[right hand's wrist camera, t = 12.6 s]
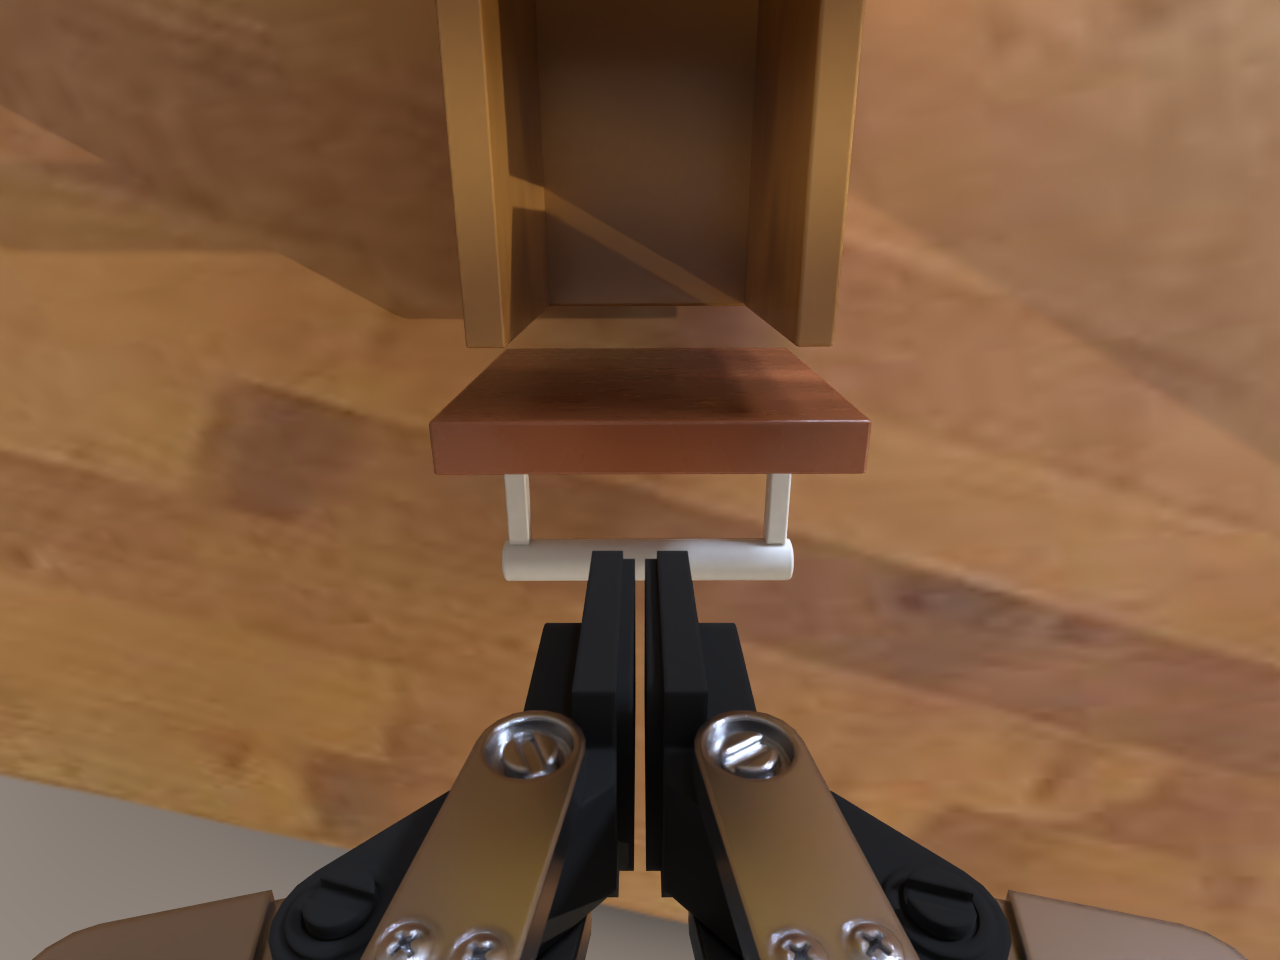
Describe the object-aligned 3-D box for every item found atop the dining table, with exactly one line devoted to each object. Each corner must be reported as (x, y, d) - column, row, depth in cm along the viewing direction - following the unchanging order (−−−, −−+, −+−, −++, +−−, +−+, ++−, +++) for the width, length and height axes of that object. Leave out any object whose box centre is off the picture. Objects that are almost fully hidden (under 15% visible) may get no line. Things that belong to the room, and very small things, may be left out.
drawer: (775, 521, 25) (843, 674, 17) (517, 522, 25) (455, 674, 17) (825, -201, 18) (988, -572, 10) (467, -199, 18) (316, -569, 10)
